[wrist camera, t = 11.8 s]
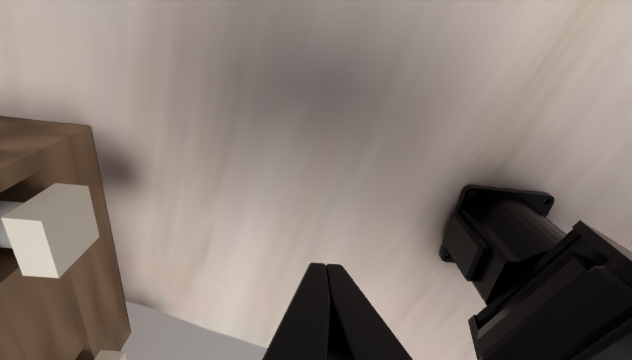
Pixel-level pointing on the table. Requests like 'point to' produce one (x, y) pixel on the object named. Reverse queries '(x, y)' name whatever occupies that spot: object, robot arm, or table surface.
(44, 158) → the button box
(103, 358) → the button
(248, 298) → the table surface
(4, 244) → the button
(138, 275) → the table surface
